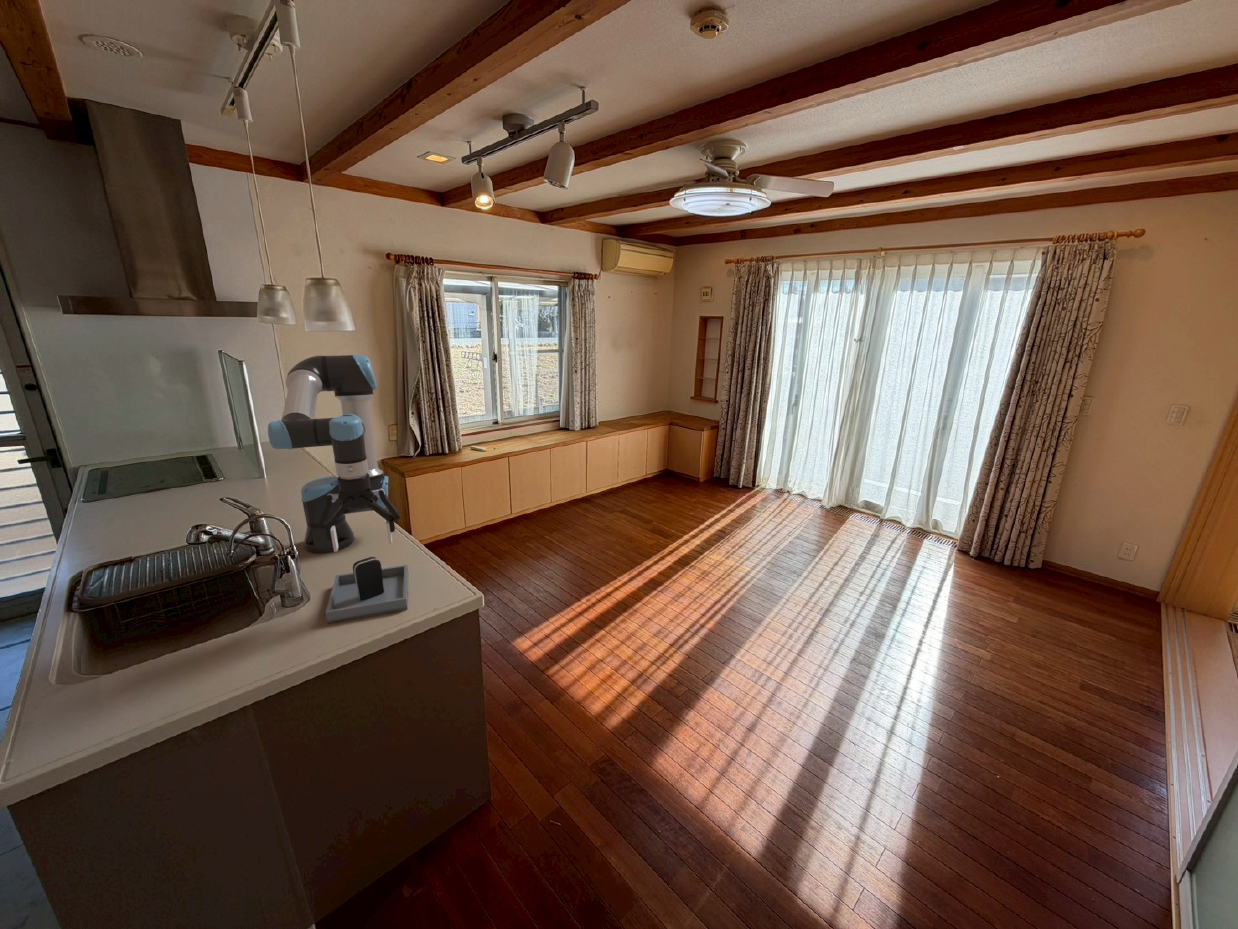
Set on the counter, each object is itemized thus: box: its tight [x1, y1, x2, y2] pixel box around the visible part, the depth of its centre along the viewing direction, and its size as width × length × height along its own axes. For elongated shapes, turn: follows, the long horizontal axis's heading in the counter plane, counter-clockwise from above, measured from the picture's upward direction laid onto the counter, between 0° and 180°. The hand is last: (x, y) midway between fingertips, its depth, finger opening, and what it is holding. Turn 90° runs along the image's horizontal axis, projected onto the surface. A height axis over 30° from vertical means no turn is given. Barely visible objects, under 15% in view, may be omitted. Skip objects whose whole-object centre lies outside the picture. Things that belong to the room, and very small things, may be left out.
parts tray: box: [325, 564, 409, 625], centre depth 140 cm, size 20×20×4 cm
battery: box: [352, 556, 384, 600], centre depth 138 cm, size 7×4×11 cm, turn 135°
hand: (363, 545), depth 135 cm, fingers open, 13 cm apart
